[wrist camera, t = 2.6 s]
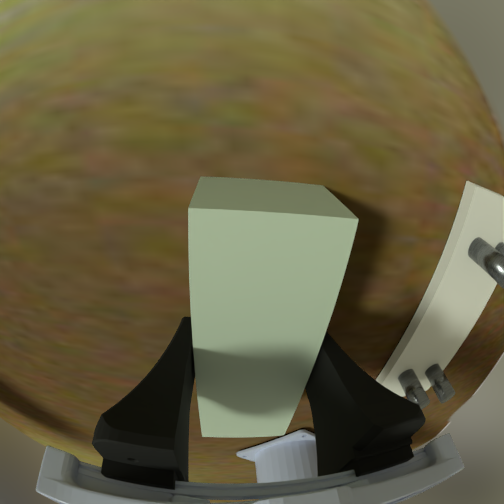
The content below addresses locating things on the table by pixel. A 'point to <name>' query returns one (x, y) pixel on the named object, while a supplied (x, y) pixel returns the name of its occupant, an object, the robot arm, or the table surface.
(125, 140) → the table surface
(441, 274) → the peg stand
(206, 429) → the pale green block
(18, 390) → the table surface
